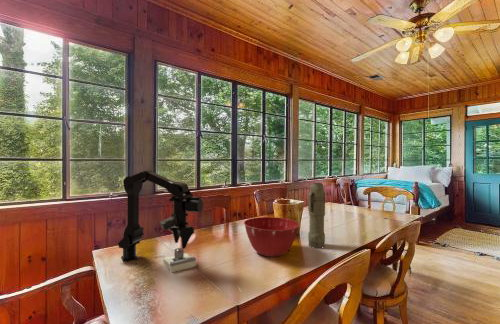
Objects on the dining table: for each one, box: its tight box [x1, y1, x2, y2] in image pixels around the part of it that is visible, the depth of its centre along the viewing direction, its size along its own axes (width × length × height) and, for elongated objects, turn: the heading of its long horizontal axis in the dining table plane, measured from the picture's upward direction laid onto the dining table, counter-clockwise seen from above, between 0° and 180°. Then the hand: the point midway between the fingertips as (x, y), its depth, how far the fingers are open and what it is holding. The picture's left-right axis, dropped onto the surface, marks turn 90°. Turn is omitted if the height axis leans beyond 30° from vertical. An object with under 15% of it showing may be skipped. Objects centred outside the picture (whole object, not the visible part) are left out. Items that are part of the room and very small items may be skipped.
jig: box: [162, 252, 197, 273], centre depth 116 cm, size 11×11×4 cm
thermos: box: [307, 182, 326, 249], centre depth 143 cm, size 9×12×35 cm
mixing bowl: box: [243, 216, 300, 258], centre depth 133 cm, size 28×28×16 cm
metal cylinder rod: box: [173, 247, 185, 261], centre depth 116 cm, size 4×4×7 cm
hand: (179, 245), depth 116 cm, fingers open, 9 cm apart
